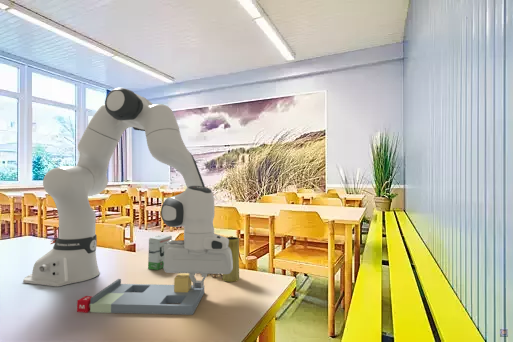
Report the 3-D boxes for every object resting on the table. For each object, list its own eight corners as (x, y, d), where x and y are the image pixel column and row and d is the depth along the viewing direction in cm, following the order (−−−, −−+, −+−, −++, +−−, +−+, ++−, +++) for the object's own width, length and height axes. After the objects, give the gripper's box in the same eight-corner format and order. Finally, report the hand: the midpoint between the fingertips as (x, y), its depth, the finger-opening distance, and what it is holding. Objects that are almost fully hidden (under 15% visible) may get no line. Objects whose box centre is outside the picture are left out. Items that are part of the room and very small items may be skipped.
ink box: (158, 270, 107) (158, 239, 107) (147, 269, 109) (147, 238, 109) (171, 264, 115) (172, 234, 116) (161, 262, 117) (162, 234, 117)
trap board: (90, 312, 74) (90, 297, 74) (118, 290, 88) (118, 278, 88) (192, 314, 73) (192, 300, 73) (204, 292, 87) (204, 280, 87)
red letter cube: (87, 313, 74) (87, 301, 74) (76, 311, 74) (77, 300, 74) (95, 307, 77) (95, 296, 77) (85, 306, 77) (85, 295, 77)
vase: (243, 278, 99) (243, 238, 99) (230, 283, 94) (230, 240, 95) (231, 274, 103) (231, 235, 103) (218, 279, 99) (219, 238, 99)
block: (174, 292, 82) (174, 278, 82) (178, 286, 86) (178, 273, 86) (187, 292, 82) (188, 278, 82) (191, 287, 86) (191, 273, 86)
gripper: (160, 242, 81) (159, 291, 81) (231, 243, 81) (230, 292, 80) (168, 237, 87) (167, 282, 87) (233, 239, 87) (233, 284, 86)
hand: (198, 287), depth 84 cm, fingers closed
